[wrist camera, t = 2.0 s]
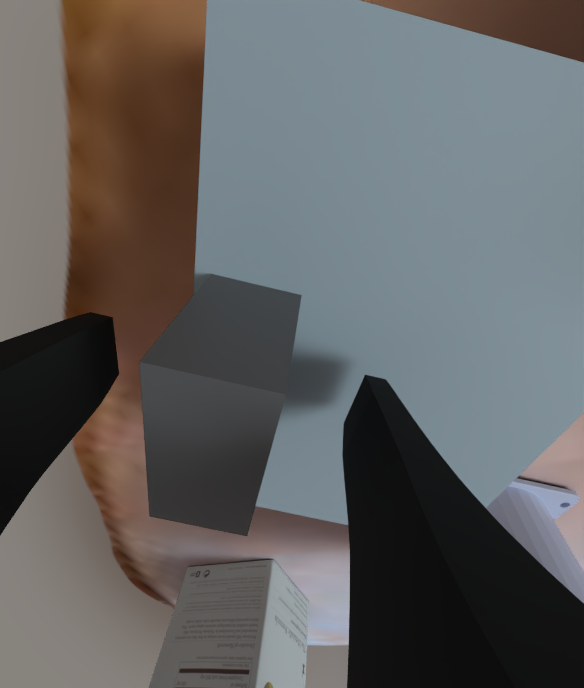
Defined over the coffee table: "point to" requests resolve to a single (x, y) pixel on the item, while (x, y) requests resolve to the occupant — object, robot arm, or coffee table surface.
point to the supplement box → (235, 630)
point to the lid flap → (369, 258)
